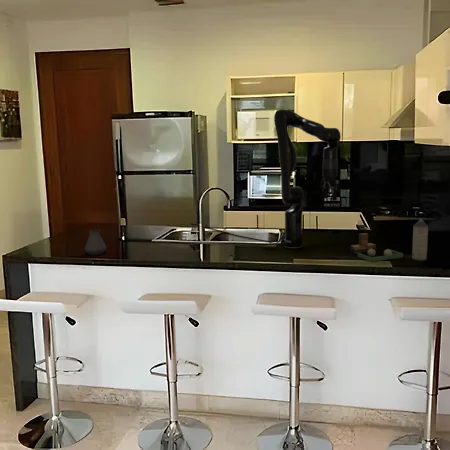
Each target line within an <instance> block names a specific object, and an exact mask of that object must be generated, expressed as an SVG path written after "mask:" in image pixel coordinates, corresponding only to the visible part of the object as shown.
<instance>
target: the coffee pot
mask: <svg viewBox="0 0 450 450" xmlns="http://www.w3.org/2000/svg"><path fill="white" fill-rule="evenodd" d="M100 225H101V221H98V222H97V225H96V228H94V229H93V228H92V229H89V230H88V233H89V235H88V237H87V241H86V244H85V246H84V251H85V252H86V254H88V255H90V256H98V255H99V256H100V255H102V254H104V253H105V251H106V250H107V245H106V244H105V242H104V240H103V238H102V236H101V231H102V230H101V229H100Z"/></svg>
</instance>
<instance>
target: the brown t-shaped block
mask: <svg viewBox="0 0 450 450" xmlns="http://www.w3.org/2000/svg"><path fill="white" fill-rule="evenodd" d="M369 249H374V250H375V252H377V244H375V243H372V242H369V233H367V232H364V233H358V244H351V245H350V248H349V253H352V254H354V255H357V253H360V254H365V253H366V254H367V252H368V250H369Z"/></svg>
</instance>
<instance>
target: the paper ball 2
mask: <svg viewBox="0 0 450 450" xmlns="http://www.w3.org/2000/svg"><path fill="white" fill-rule="evenodd" d="M391 250H392V249H390V250H389V248H387V249H385V250H384V251H383V256H386V255H393V254H392V251H391Z"/></svg>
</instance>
